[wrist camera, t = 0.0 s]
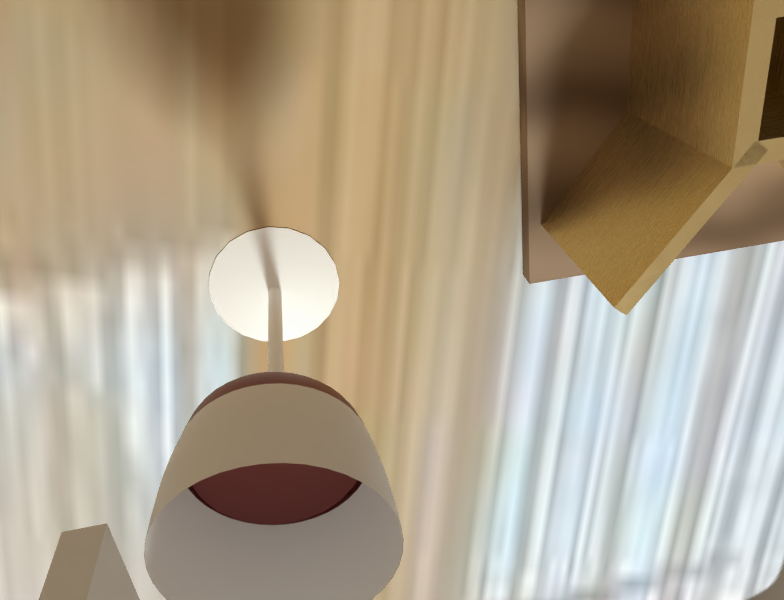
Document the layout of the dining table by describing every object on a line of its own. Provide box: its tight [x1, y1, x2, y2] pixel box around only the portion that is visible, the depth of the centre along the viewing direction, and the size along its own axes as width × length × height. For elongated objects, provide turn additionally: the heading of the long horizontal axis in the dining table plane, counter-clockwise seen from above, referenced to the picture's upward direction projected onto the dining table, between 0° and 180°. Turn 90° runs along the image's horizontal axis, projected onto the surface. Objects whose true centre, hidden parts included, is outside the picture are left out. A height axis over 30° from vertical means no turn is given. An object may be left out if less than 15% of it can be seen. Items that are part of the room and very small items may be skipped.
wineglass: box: [144, 227, 404, 600], centre depth 33 cm, size 8×9×20 cm
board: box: [518, 0, 784, 284], centre depth 39 cm, size 20×18×1 cm
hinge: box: [541, 0, 784, 315], centre depth 34 cm, size 13×17×10 cm
